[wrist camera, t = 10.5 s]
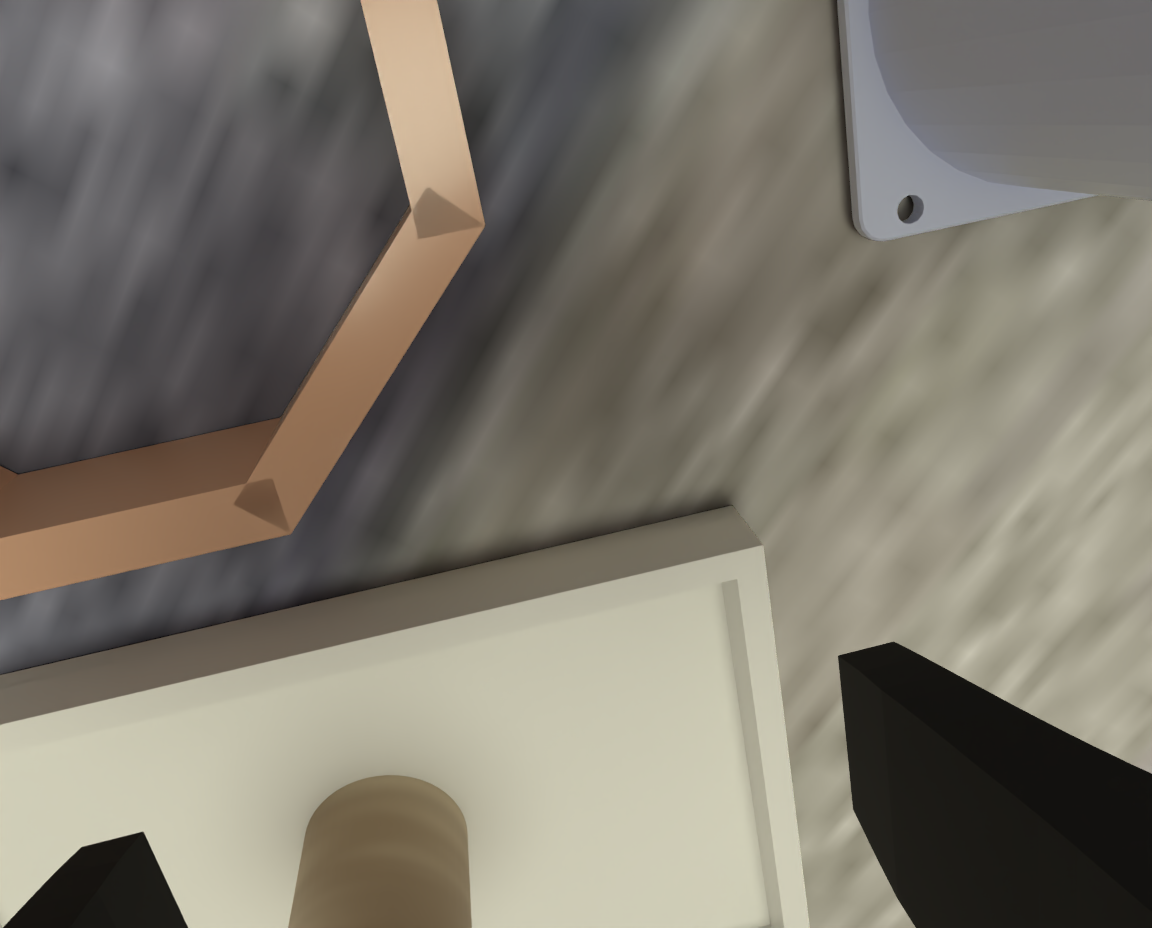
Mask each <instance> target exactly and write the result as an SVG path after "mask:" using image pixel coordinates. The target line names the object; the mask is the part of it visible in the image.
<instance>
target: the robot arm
mask: <svg viewBox="0 0 1152 928" xmlns="http://www.w3.org/2000/svg"><path fill="white" fill-rule="evenodd" d="M837 6H838V20H839V34H840V48H841V63H842V77H843V91H844V105H845V119H846V133H847V147H848V162H849V176H850V190H851V204H852V218H853V222H854V226H855V228H856V230H857V231H858V232H859V233H860V235H862V236H864V237H866V238H868V239H871V240H874V241H888V240H893V239H897V238H902V237H907V236H911V235H916V234H921V233H925V232H930V231H935V230H939V229H944V228H949V227H953V226H958V225H963V224H967V223H972V222H977V221H981V220H986V219H991V218H995V217H1000V216H1005V215H1009V214H1014V213H1019V212H1023V211H1028V210H1033V209H1037V208H1042V207H1047V206H1051V205H1056V204H1061V203H1065V202H1070V201H1075V200H1079V199H1084V198H1089V197H1093V196H1098V195H1103V196H1112V197H1121V198H1131V199H1140V200H1149V201H1152V0H837ZM907 196H910V197H911V198H912V200H913V203H914V208H913V212H912V214H911V215H910V216H909V218H908V219H906V220H904V221H901V220H900V219H899V216H898V213H897V210H898V205H899V203H900V202H901V201H902V199H903V198H905V197H907ZM838 660H839V670H840V680H841V690H842V701H843V711H844V721H845V731H846V741H847V751H848V761H849V771H850V781H851V792H852V802H853V810H854V812H855V814H856V816H857V818H858V820H859V822H860V824H861V826H862V828H863V830H864V832H865V834H866V837H867V839H868V841H869V843H870V845H871V847H872V849H873V851H874V853H875V855H876V857H877V859H878V861H879V863H880V865H881V867H882V869H883V871H884V873H885V875H886V877H887V879H888V881H889V883H890V885H891V887H892V889H893V890H894V892H895V894H896V896H897V898H898V900H899V902H900V903H901V905H902V906H903V908H904V910H905V911H906V913H907V914H908V916H909V917H910V919H911V921H912V922H913V924H914V925H915V927H916V928H1152V774H1151V773H1149V772H1147V771H1145V770H1142V769H1140V768H1138V767H1136V766H1134V765H1131V764H1129V763H1127V762H1125V761H1123V760H1121V759H1119V758H1117V757H1115V756H1113V755H1111V754H1109V753H1107V752H1104V751H1102V750H1100V749H1098V748H1096V747H1094V746H1092V745H1090V744H1088V743H1086V742H1084V741H1082V740H1080V739H1078V738H1076V737H1074V736H1072V735H1070V734H1068V733H1066V732H1064V731H1062V730H1060V729H1058V728H1056V727H1054V726H1052V725H1050V724H1048V723H1047V722H1045V721H1043V720H1041V719H1039V718H1037V717H1035V716H1033V715H1031V714H1029V713H1027V712H1025V711H1023V710H1022V709H1020V708H1018V707H1016V706H1014V705H1012V704H1010V703H1008V702H1006V701H1004V700H1003V699H1001V698H999V697H997V696H995V695H993V694H991V693H990V692H988V691H986V690H984V689H982V688H980V687H978V686H977V685H975V684H973V683H971V682H969V681H967V680H965V679H964V678H962V677H960V676H958V675H956V674H954V673H953V672H951V671H949V670H947V669H945V668H943V667H941V666H940V665H938V664H936V663H934V662H932V661H930V660H928V659H927V658H925V657H923V656H921V655H919V654H917V653H915V652H913V651H911V650H909V649H907V648H905V647H903V646H901V645H899V644H897V643H895V642H890V643H886V644H883V645H879V646H875V647H871V648H867V649H863V650H859V651H855V652H851V653H847V654H843V655H839V656H838ZM3 928H188V926H187V924H186V922H185V920H184V918H183V915H182V913H181V911H180V909H179V907H178V905H177V903H176V900H175V898H174V896H173V894H172V892H171V890H170V888H169V885H168V883H167V881H166V879H165V877H164V875H163V872H162V870H161V868H160V866H159V864H158V862H157V860H156V857H155V855H154V853H153V851H152V849H151V847H150V844H149V842H148V840H147V838H146V836H145V834H144V832H139V833H135V834H131V835H127V836H123V837H119V838H115V839H111V840H107V841H103V842H99V843H95V844H91V845H87V846H83V847H81V848H80V849H79V850H78V851H77V852H76V853H75V854H74V855H73V856H72V857H70V858H69V859H68V860H67V861H66V862H65V863H64V864H63V865H62V866H61V867H60V868H59V869H58V870H57V871H56V872H55V873H54V874H53V875H52V876H51V877H50V878H49V879H48V880H47V881H46V882H45V883H44V884H43V885H42V887H41V888H40V889H39V890H38V891H37V892H36V893H35V894H34V895H33V896H32V897H31V898H30V899H29V900H28V901H27V902H26V903H25V904H24V905H23V907H22V908H21V909H20V910H19V911H18V912H17V913H16V914H15V915H14V916H13V917H12V918H11V919H10V920H9V921H8V923H7V924H6V925H5V926H4V927H3Z"/></svg>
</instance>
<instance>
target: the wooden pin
mask: <svg viewBox="0 0 1152 928" xmlns="http://www.w3.org/2000/svg"><path fill="white" fill-rule="evenodd" d="M288 928H472V919H471V898H470V876H469V854H468V832H467V826H466V821H465V819H464V816H463V813H462V812H461V810H460V808H459V807H458V805H457V804H456V803H455V801H454V800H453V799H452V798H451V797H450V796H449V795H448V794H447V793H445V792H444V791H442V790H441V789H440V788H438V787H436V786H434V785H432V784H430V783H428V782H425V781H423V780H420V779H416V778H412V777H407V776H400V775H384V776H375V777H369V778H365V779H362V780H358V781H355V782H353V783H350V784H348V785H346V786H344V787H342V788H340V789H339V790H337V791H335V792H334V793H333V794H331V795H330V796H329V797H327V798H326V799H325V800H324V801H323V802H322V803H321V804H320V805H319V807H318V808H317V809H316V810H315V812H314V814H313V815H312V817H311V819H310V821H309V823H308V826H307V829H306V833H305V838H304V843H303V849H302V854H301V860H300V865H299V871H298V876H297V882H296V887H295V893H294V898H293V904H292V909H291V915H290V920H289V926H288Z"/></svg>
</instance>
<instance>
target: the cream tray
mask: <svg viewBox="0 0 1152 928" xmlns="http://www.w3.org/2000/svg"><path fill="white" fill-rule="evenodd" d="M384 775H400V776H407V777H412V778H416V779H420V780H423V781H425V782H428V783H430V784H432V785H434V786H436V787H438V788H440V789H441V790H442V791H444V792H445V793H447V794H448V795H449V796H450V797H451V798H452V799H453V800H454V801H455V803H456V804H457V805H458V807H459V808H460V810H461V812H462V813H463V816H464V819H465V821H466V826H467V832H468V854H469V876H470V898H471V919H472V928H810V926H809V918H808V909H807V901H806V893H805V885H804V876H803V868H802V860H801V852H800V843H799V835H798V827H797V819H796V810H795V802H794V794H793V786H792V777H791V769H790V761H789V753H788V744H787V736H786V728H785V720H784V712H783V703H782V695H781V687H780V679H779V670H778V662H777V654H776V646H775V637H774V629H773V621H772V613H771V604H770V596H769V588H768V580H767V571H766V563H765V555H764V547H763V544H762V543H761V541H760V540H759V539H758V538H757V536H756V535H755V534H754V532H753V531H752V530H751V529H750V527H749V526H748V525H747V523H746V522H745V521H744V520H743V518H742V517H741V516H740V514H739V513H738V512H737V511H736V509H735V508H734V507H733V505H732V506H727V507H723V508H719V509H714V510H710V511H706V512H701V513H697V514H693V515H688V516H684V517H680V518H675V519H671V520H667V521H663V522H658V523H654V524H650V525H645V526H641V527H637V528H632V529H628V530H624V531H619V532H615V533H611V534H607V535H602V536H598V537H594V538H589V539H585V540H581V541H576V542H572V543H568V544H563V545H559V546H555V547H551V548H546V549H542V550H538V551H533V552H529V553H525V554H520V555H516V556H512V557H507V558H503V559H499V560H494V561H490V562H486V563H482V564H477V565H473V566H469V567H464V568H460V569H456V570H451V571H447V572H443V573H438V574H434V575H430V576H426V577H421V578H417V579H413V580H408V581H404V582H400V583H395V584H391V585H387V586H382V587H378V588H374V589H369V590H365V591H361V592H357V593H352V594H348V595H344V596H339V597H335V598H331V599H326V600H322V601H318V602H313V603H309V604H305V605H301V606H296V607H292V608H288V609H283V610H279V611H275V612H270V613H266V614H262V615H257V616H253V617H249V618H245V619H240V620H236V621H232V622H227V623H223V624H219V625H214V626H210V627H206V628H201V629H197V630H193V631H188V632H184V633H180V634H176V635H171V636H167V637H163V638H158V639H154V640H150V641H145V642H141V643H137V644H132V645H128V646H124V647H120V648H115V649H111V650H107V651H102V652H98V653H94V654H89V655H85V656H81V657H76V658H72V659H68V660H63V661H59V662H55V663H51V664H46V665H42V666H38V667H33V668H29V669H25V670H20V671H16V672H12V673H7V674H3V675H0V928H3V927H4V926H5V925H6V924H7V923H8V921H9V920H10V919H11V918H12V917H13V916H14V915H15V914H16V913H17V912H18V911H19V910H20V909H21V908H22V907H23V905H24V904H25V903H26V902H27V901H28V900H29V899H30V898H31V897H32V896H33V895H34V894H35V893H36V892H37V891H38V890H39V889H40V888H41V887H42V885H43V884H44V883H45V882H46V881H47V880H48V879H49V878H50V877H51V876H52V875H53V874H54V873H55V872H56V871H57V870H58V869H59V868H60V867H61V866H62V865H63V864H64V863H65V862H66V861H67V860H68V859H69V858H70V857H72V856H73V855H74V854H75V853H76V852H77V851H78V850H79V849H80V848H81V847H83V846H87V845H91V844H95V843H99V842H103V841H107V840H111V839H115V838H119V837H123V836H127V835H131V834H135V833H139V832H144V834H145V836H146V838H147V840H148V842H149V844H150V847H151V849H152V851H153V853H154V855H155V857H156V860H157V862H158V864H159V866H160V868H161V870H162V872H163V875H164V877H165V879H166V881H167V883H168V885H169V888H170V890H171V892H172V894H173V896H174V898H175V900H176V903H177V905H178V907H179V909H180V911H181V913H182V915H183V918H184V920H185V922H186V924H187V926H188V928H288V926H289V920H290V915H291V909H292V904H293V898H294V893H295V887H296V882H297V876H298V871H299V865H300V860H301V854H302V849H303V843H304V838H305V833H306V829H307V826H308V823H309V821H310V819H311V817H312V815H313V814H314V812H315V810H316V809H317V808H318V807H319V805H320V804H321V803H322V802H323V801H324V800H325V799H326V798H327V797H329V796H330V795H331V794H333V793H334V792H335V791H337V790H339V789H340V788H342V787H344V786H346V785H348V784H350V783H353V782H355V781H358V780H362V779H365V778H369V777H375V776H384Z"/></svg>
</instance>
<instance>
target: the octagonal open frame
mask: <svg viewBox="0 0 1152 928" xmlns="http://www.w3.org/2000/svg"><path fill="white" fill-rule="evenodd" d="M361 4H362V8H363V12H364V16H365V21H366V25H367V29H368V33H369V37H370V41H371V45H372V49H373V53H374V58H375V62H376V66H377V70H378V74H379V78H380V82H381V86H382V90H383V95H384V99H385V103H386V107H387V111H388V115H389V119H390V123H391V128H392V132H393V136H394V140H395V144H396V148H397V152H398V156H399V160H400V165H401V169H402V173H403V177H404V181H405V185H406V189H407V193H408V197H409V202H410V205H409V207H408V208H407V210H406V212H405V213H404V215H403V217H402V218H401V220H400V222H399V223H398V225H397V226H396V228H395V230H394V231H393V233H392V235H391V236H390V238H389V240H388V241H387V243H386V245H385V246H384V248H383V250H382V251H381V253H380V255H379V256H378V258H377V259H376V261H375V263H374V264H373V266H372V268H371V269H370V271H369V273H368V274H367V276H366V278H365V279H364V281H363V283H362V284H361V286H360V287H359V289H358V291H357V292H356V294H355V296H354V297H353V299H352V301H351V302H350V304H349V306H348V307H347V309H346V311H345V312H344V314H343V316H342V317H341V319H340V320H339V322H338V324H337V325H336V327H335V329H334V330H333V332H332V334H331V335H330V337H329V339H328V340H327V342H326V344H325V345H324V347H323V349H322V350H321V352H320V353H319V355H318V357H317V358H316V360H315V362H314V363H313V365H312V367H311V368H310V370H309V372H308V373H307V375H306V377H305V378H304V380H303V381H302V383H301V385H300V386H299V388H298V390H297V391H296V393H295V395H294V396H293V398H292V400H291V401H290V403H289V405H288V406H287V408H286V410H285V411H284V413H283V414H282V416H281V417H280V418H276V419H271V420H266V421H262V422H257V423H253V424H248V425H244V426H239V427H234V428H230V429H225V430H221V431H216V432H211V433H207V434H202V435H198V436H193V437H188V438H184V439H179V440H175V441H170V442H165V443H161V444H156V445H152V446H147V447H143V448H138V449H133V450H129V451H124V452H120V453H115V454H110V455H106V456H101V457H97V458H92V459H87V460H83V461H78V462H74V463H69V464H64V465H60V466H55V467H51V468H46V469H42V470H37V471H32V472H28V473H23V474H19V475H18V474H16V473H14V472H12V471H10V470H8V469H5V468H3V467H1V466H0V600H3V599H7V598H12V597H16V596H21V595H25V594H29V593H34V592H38V591H43V590H47V589H51V588H56V587H60V586H65V585H69V584H73V583H78V582H82V581H87V580H91V579H96V578H100V577H104V576H109V575H113V574H118V573H122V572H126V571H131V570H135V569H140V568H144V567H148V566H153V565H157V564H162V563H166V562H171V561H175V560H179V559H184V558H188V557H193V556H197V555H201V554H206V553H210V552H215V551H219V550H224V549H228V548H232V547H237V546H241V545H246V544H250V543H254V542H259V541H263V540H268V539H272V538H276V537H281V536H285V535H290V534H291V533H292V532H293V530H294V529H295V527H296V525H297V524H298V522H299V521H300V519H301V518H302V516H303V514H304V513H305V511H306V510H307V508H308V506H309V505H310V503H311V502H312V500H313V498H314V497H315V495H316V494H317V492H318V491H319V489H320V487H321V486H322V484H323V483H324V481H325V479H326V478H327V476H328V475H329V473H330V471H331V470H332V468H333V467H334V465H335V464H336V462H337V460H338V459H339V457H340V456H341V454H342V452H343V451H344V449H345V448H346V446H347V445H348V443H349V441H350V440H351V438H352V437H353V435H354V433H355V432H356V430H357V429H358V427H359V425H360V424H361V422H362V421H363V419H364V418H365V416H366V414H367V413H368V411H369V410H370V408H371V406H372V405H373V403H374V402H375V400H376V398H377V397H378V395H379V394H380V392H381V391H382V389H383V387H384V386H385V384H386V383H387V381H388V379H389V378H390V376H391V375H392V373H393V372H394V370H395V368H396V367H397V365H398V364H399V362H400V360H401V359H402V357H403V356H404V354H405V352H406V351H407V349H408V348H409V346H410V345H411V343H412V341H413V340H414V338H415V337H416V335H417V333H418V332H419V330H420V329H421V327H422V325H423V324H424V322H425V321H426V319H427V318H428V316H429V314H430V313H431V311H432V310H433V308H434V306H435V305H436V303H437V302H438V300H439V299H440V297H441V295H442V294H443V292H444V291H445V289H446V287H447V286H448V284H449V283H450V281H451V279H452V278H453V276H454V275H455V273H456V272H457V270H458V268H459V267H460V265H461V264H462V262H463V260H464V259H465V257H466V256H467V254H468V252H469V251H470V249H471V248H472V246H473V245H474V243H475V241H476V240H477V238H478V237H479V235H480V233H481V232H482V230H483V229H484V227H485V221H484V217H483V212H482V207H481V203H480V198H479V193H478V189H477V184H476V180H475V175H474V170H473V166H472V161H471V156H470V152H469V147H468V142H467V138H466V133H465V128H464V124H463V119H462V115H461V110H460V105H459V101H458V96H457V91H456V87H455V82H454V77H453V73H452V68H451V64H450V59H449V54H448V50H447V45H446V40H445V36H444V31H443V26H442V22H441V17H440V12H439V8H438V3H437V0H361Z"/></svg>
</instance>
